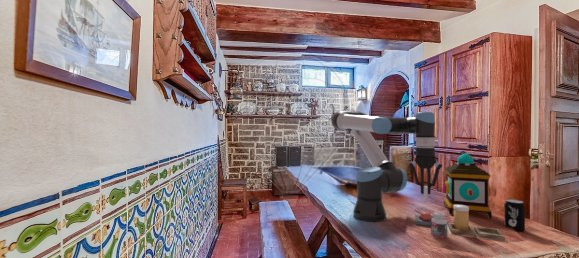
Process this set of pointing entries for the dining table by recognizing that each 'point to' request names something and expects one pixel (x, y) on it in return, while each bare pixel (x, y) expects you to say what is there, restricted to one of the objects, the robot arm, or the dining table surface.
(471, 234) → the wooden divided tray
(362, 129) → the robot arm
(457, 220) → the amber capped bottle
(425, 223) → the grey square frame
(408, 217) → the dining table surface
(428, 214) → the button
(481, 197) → the decorative lantern
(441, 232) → the pill bottle
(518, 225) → the beverage can
